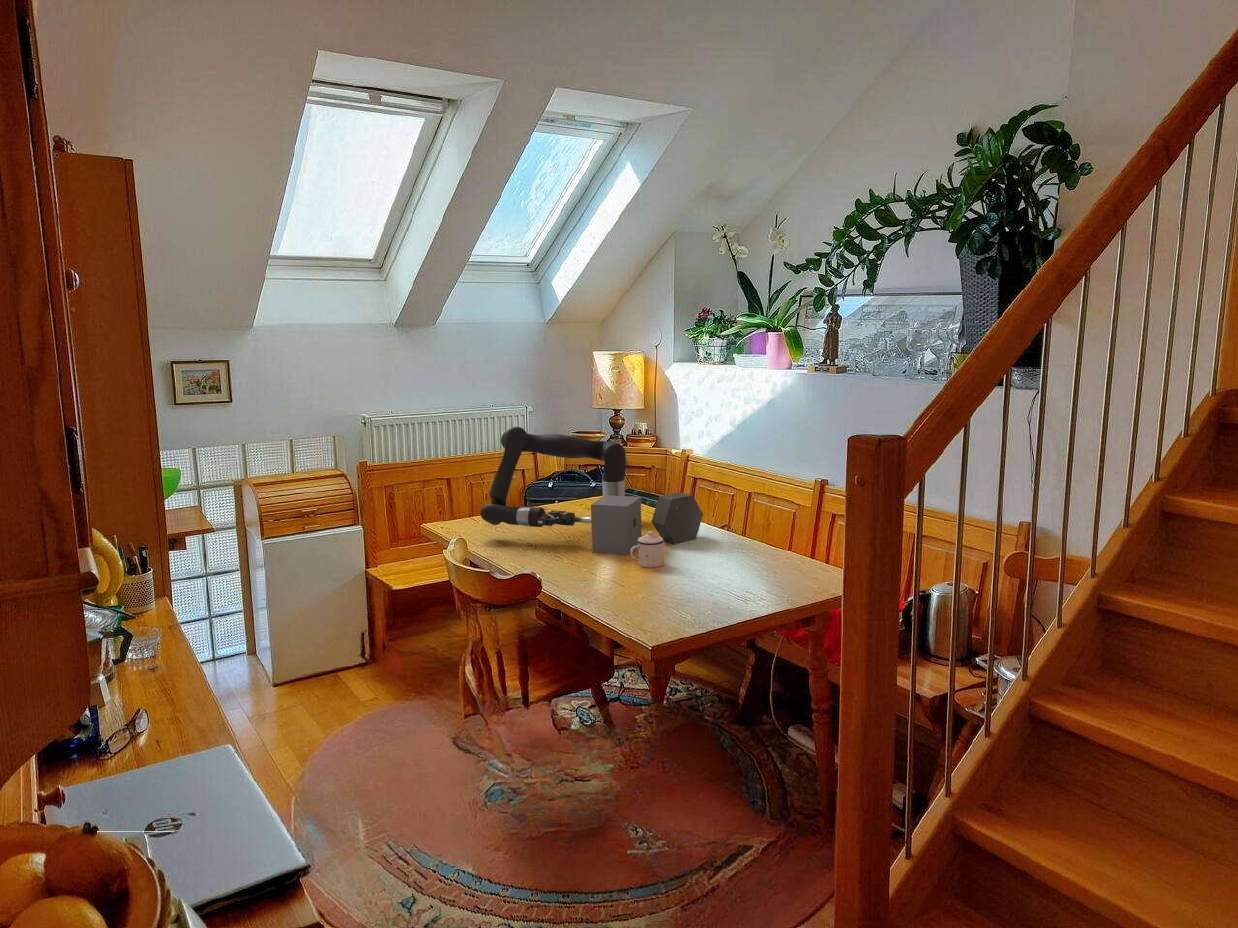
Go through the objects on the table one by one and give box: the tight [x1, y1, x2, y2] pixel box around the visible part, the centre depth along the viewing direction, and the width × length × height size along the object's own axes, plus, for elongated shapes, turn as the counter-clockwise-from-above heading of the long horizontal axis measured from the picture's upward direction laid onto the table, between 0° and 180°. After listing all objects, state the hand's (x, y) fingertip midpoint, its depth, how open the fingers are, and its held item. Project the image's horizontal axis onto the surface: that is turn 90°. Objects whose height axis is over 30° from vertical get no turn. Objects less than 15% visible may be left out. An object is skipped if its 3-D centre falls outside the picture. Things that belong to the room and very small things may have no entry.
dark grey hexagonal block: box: [650, 492, 704, 545], centre depth 328 cm, size 17×8×21 cm
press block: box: [590, 495, 643, 556], centre depth 319 cm, size 16×14×18 cm
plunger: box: [558, 511, 591, 527], centre depth 323 cm, size 5×19×5 cm, turn 71°
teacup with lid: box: [629, 530, 665, 569], centre depth 297 cm, size 12×9×12 cm
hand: (570, 519), depth 325 cm, fingers open, 8 cm apart
